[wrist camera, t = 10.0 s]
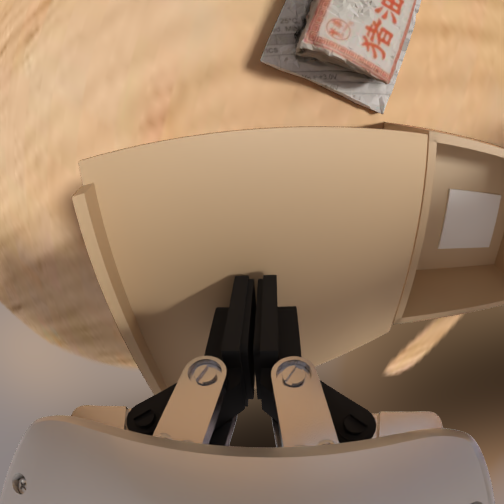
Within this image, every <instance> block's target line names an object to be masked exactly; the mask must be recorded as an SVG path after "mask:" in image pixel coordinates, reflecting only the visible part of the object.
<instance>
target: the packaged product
mask: <svg viewBox="0 0 504 504" xmlns="http://www.w3.org/2000/svg"><path fill="white" fill-rule="evenodd" d="M420 3H421V0H286V2H285V4H284V6H283V8H282V10H281V13H280V15H279V17H278V19H277V21H276V24H275V26H274V28H273V30H272V32H271V35H270V37H269V39H268V41H267V44H266V46H265V49H264V51H263V54H262V57H261V60H260V61H261V62H263V63H265V64H267V65H269V66H272V67H274V68H276V69H278V70H281V71H284V72H287V73H290V74H293V75H296V76H299V77H302V78H305V79H307V80H309V81H312V82H314V83H316V84H318V85H320V86H322V87H325V88H327V89H329V90H331V91H333V92H335V93H337V94H339V95H341V96H343V97H345V98H347V99H349V100H351V101H353V102H354V103H357V104H359V105H362V106H364V107H367V108H369V109H371V110H374V111H376V112H378V113H381V114H383V113H384V110H385V107H386V104H387V102H388V99H389V97H390V95H391V93H392V90H393V88H394V85H395V82H396V78H397V75H398V72H399V69H400V67H401V64H402V61H403V58H404V55H405V53H406V50H407V47H408V44H409V41H410V37H411V34H412V32H413V28H414V25H415V18H416V13H418V10H419V6H420Z"/></svg>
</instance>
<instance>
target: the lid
mask: <svg viewBox="0 0 504 504" xmlns="http://www.w3.org/2000/svg"><path fill="white" fill-rule="evenodd" d="M427 140H428V135H427V134H423V133H416V132H407V131H398V130H388V129H375V128H359V127H327V126H308V127H275V128H259V129H246V130H235V131H225V132H216V133H208V134H201V135H194V136H187V137H181V138H175V139H169V140H163V141H158V142H153V143H148V144H143V145H138V146H134V147H129V148H125V149H121V150H117V151H113V152H109V153H105V154H101V155H97V156H94V157H90V158H87V159H83V160H80V161H79V162H78V164H79V169H80V174H81V179H82V184H83V186H82V187H81V188H80V189H79V190H78V191H77V192H76V193H75V194H74V195H73V196H72V201H73V204H74V208H75V212H76V216H77V219H78V223H79V226H80V230H81V233H82V236H83V240H84V243H85V246H86V249H87V252H88V255H89V258H90V261H91V263H92V266H93V269H94V272H95V274H96V277H97V280H98V282H99V285H100V287H101V290H102V292H103V295H104V297H105V300H106V302H107V304H108V307H109V309H110V311H111V313H112V316H113V318H114V320H115V322H116V324H117V327H118V329H119V331H120V333H121V335H122V337H123V339H124V341H125V343H126V345H127V347H128V349H129V351H130V353H131V355H132V357H133V359H134V360H135V362H136V364H137V366H138V368H139V370H140V371H141V373H142V375H143V376H144V378H145V380H146V382H147V384H148V385H149V387H150V389H151V390H152V392H153V393H154V395H156V394H158V393H160V392H161V391H163V390H165V389H167V388H168V387H170V386H172V385H174V384H175V383H177V382H178V380H179V378H180V376H181V374H182V372H183V370H184V368H185V366H186V365H187V364H188V363H189V362H190V361H191V360H193V359H195V358H197V357H201V356H204V354H205V350H206V346H207V342H208V338H209V333H210V329H211V325H212V321H213V317H214V313H215V310H216V308H217V307H229V304H230V299H231V294H232V289H233V284H234V279H235V276H243V275H249V279H254V283H255V297H256V301H257V287H258V279H263V275H277V303H278V307H285V306H296V307H297V315H298V325H299V335H300V345H301V356H302V357H303V358H305V359H307V360H309V361H310V362H311V363H312V364H314V366H315V367H316V366H318V365H320V364H323V363H325V362H327V361H330V360H332V359H334V358H336V357H339V356H341V355H343V354H345V353H347V352H349V351H352V350H354V349H356V348H358V347H360V346H362V345H364V344H366V343H368V342H370V341H372V340H374V339H376V338H378V337H380V336H382V335H383V334H385V333H387V332H389V331H390V328H391V325H392V322H393V319H394V316H395V313H396V310H397V307H398V304H399V300H400V297H401V294H402V290H403V287H404V283H405V279H406V276H407V272H408V268H409V264H410V259H411V255H412V251H413V246H414V241H415V236H416V231H417V226H418V220H419V215H420V208H421V202H422V195H423V187H424V178H425V168H426V156H427ZM256 388H257V387H256V377H255V385H254V389H256Z"/></svg>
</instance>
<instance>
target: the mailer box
mask: <svg viewBox="0 0 504 504" xmlns="http://www.w3.org/2000/svg"><path fill="white" fill-rule="evenodd" d="M384 129H388V130H398V131H407V132H416V133H423V134H427V135H428V140H427V156H426V168H425V178H424V187H423V195H422V202H421V208H420V215H419V220H418V226H417V231H416V236H415V241H414V246H413V251H412V255H411V259H410V264H409V268H408V272H407V276H406V279H405V283H404V287H403V290H402V294H401V297H400V300H399V304H398V307H397V310H396V313H395V316H394V319H393V322H392V323H393V324H400V323H408V322H415V321H422V320H429V319H435V318H441V317H447V316H453V315H458V314H464V313H469V312H474V311H478V310H483V309H487V308H492V307H497V306H500V305H504V148H503V147H500V146H497V145H493V144H490V143H487V142H483V141H480V140H476V139H472V138H468V137H464V136H460V135H456V134H451V133H447V132H442V131H437V130H432V129H426V128H421V127H415V126H408V125H402V124H394V123H386V122H384Z"/></svg>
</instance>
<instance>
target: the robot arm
mask: <svg viewBox="0 0 504 504" xmlns="http://www.w3.org/2000/svg"><path fill="white" fill-rule="evenodd" d="M255 377H256V387H257V397H258V399H262V409H263V410H264V411H265V412H266V413H267V414H269V415H270V416H271V417H272V423H273V429H274V435H275V441H276V447H277V448H257V447H254V448H253V447H233V446H229V443H230V440H231V437H232V433H233V430H234V427H235V423H236V420H237V414H238V413H240V412H241V411H243V410H244V409H245V406H248V399H253V398H254V385H255ZM0 504H495V501H494V495H493V488H492V484H491V480H490V476H489V472H488V468H487V465H486V462H485V459H484V457H483V454H482V452H481V450H480V448H479V446H478V445H477V443H476V441H475V440H474V439H473V438H472V437H471V436H470V435H469V434H467V433H465V432H462V431H458V430H454V429H446V428H442V422H441V419H440V418H439V417H438V415H436V414H435V413H433V412H428V411H422V412H380V413H379V414H371V413H370V412H369V411H368V410H366V409H365V408H363V407H361V406H360V405H358V404H356V403H355V402H353V401H352V400H350V399H348V398H347V397H345V396H344V395H342V394H340V393H339V392H337V391H336V390H334V389H333V388H331V387H329V386H327V385H326V384H325V383H323V382H322V381H320V380H319V377H318V373H317V370H316V368H315V366H314V364H312V363H311V362H310V361H309V360H307V359H305V358H303V357H302V356H301V345H300V335H299V325H298V315H297V307H296V306H285V307H278V303H277V275H263V279H258V287H257V301H256V297H255V283H254V279H249V275H243V276H235V279H234V284H233V289H232V294H231V299H230V304H229V307H217V308H216V310H215V313H214V317H213V321H212V325H211V329H210V333H209V338H208V342H207V346H206V350H205V354H204V356H201V357H197V358H195V359H193V360H191V361H190V362H189V363H188V364H187V365H186V366H185V368H184V370H183V372H182V374H181V376H180V378H179V380H178V382H177V383H175V384H174V385H172V386H170V387H168V388H167V389H165V390H163V391H161V392H160V393H158V394H156V395H154V396H153V397H151V398H149V399H147V400H145V401H143V402H141V403H140V404H138V405H136V406H135V407H133V408H132V409H128V408H127V407H126V406H89V405H84V406H80V407H78V408H76V409H75V410H74V411H73V413H72V415H71V416H63V415H56V416H47V417H43V418H39V419H37V420H36V421H34V422H33V423H32V424H31V425H30V426H29V428H28V429H27V430H26V432H25V434H24V435H23V438H22V439H21V441H20V443H19V445H18V447H17V449H16V452H15V454H14V457H13V459H12V461H11V464H10V467H9V470H8V473H7V476H6V479H5V482H4V486H3V490H2V493H1V496H0Z"/></svg>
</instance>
